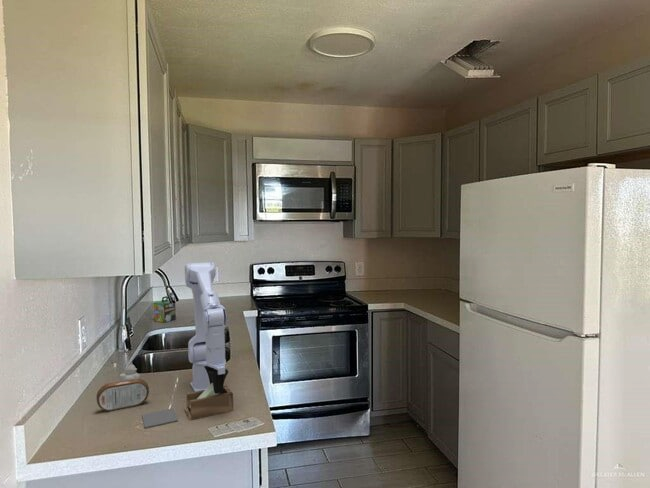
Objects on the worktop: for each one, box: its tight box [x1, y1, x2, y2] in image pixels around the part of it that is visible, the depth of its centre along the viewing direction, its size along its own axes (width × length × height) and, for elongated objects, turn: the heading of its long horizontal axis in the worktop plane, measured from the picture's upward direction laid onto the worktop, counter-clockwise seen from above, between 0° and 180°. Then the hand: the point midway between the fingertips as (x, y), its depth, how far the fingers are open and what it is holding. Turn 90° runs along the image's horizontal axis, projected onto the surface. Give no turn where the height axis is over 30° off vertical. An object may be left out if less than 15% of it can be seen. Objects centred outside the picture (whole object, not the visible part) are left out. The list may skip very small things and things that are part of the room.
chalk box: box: [153, 295, 177, 324], centre depth 252 cm, size 9×9×15 cm
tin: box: [95, 378, 150, 412], centre depth 133 cm, size 15×3×8 cm, turn 118°
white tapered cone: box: [119, 361, 141, 381], centre depth 153 cm, size 5×7×8 cm
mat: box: [141, 407, 179, 429], centre depth 125 cm, size 9×9×1 cm
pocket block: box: [184, 385, 234, 421], centre depth 130 cm, size 7×13×5 cm, turn 118°
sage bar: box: [197, 382, 219, 399], centre depth 130 cm, size 4×10×2 cm
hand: (216, 389), depth 131 cm, fingers open, 4 cm apart
